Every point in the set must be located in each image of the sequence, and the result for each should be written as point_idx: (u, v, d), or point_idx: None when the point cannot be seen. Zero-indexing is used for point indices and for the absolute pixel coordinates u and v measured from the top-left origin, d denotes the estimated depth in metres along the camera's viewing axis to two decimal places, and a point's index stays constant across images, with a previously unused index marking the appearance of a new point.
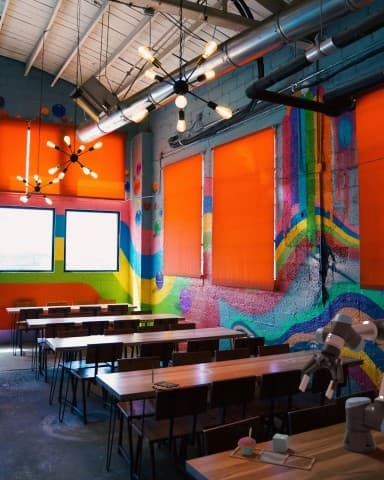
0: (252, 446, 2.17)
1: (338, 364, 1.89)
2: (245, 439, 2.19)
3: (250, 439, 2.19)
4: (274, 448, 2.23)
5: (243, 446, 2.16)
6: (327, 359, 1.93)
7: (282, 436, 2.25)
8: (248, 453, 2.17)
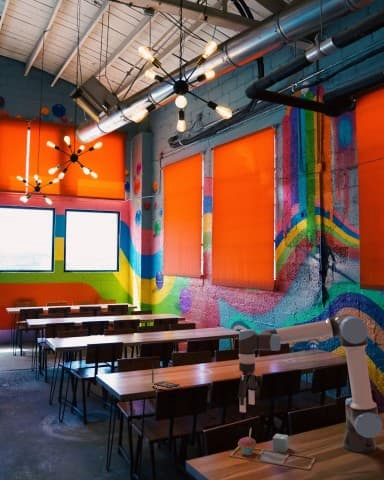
0: (252, 446, 2.17)
1: None
2: (245, 439, 2.19)
3: (250, 439, 2.19)
4: (274, 448, 2.23)
5: (243, 446, 2.16)
6: None
7: (282, 436, 2.25)
8: (248, 453, 2.17)
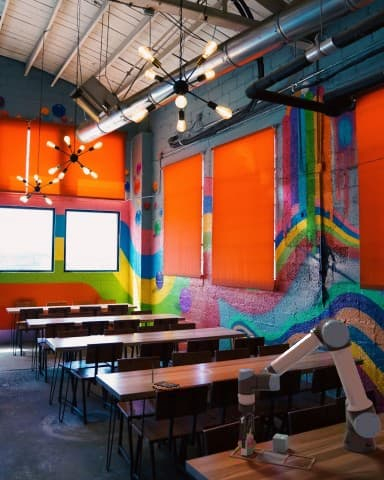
0: (252, 446, 2.17)
1: None
2: None
3: (250, 439, 2.19)
4: (274, 448, 2.23)
5: None
6: None
7: (282, 436, 2.25)
8: (248, 453, 2.17)
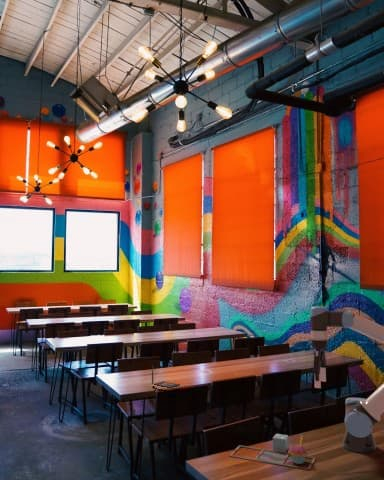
0: (304, 455, 2.06)
1: (314, 357, 2.16)
2: (296, 447, 2.09)
3: (301, 447, 2.09)
4: (274, 448, 2.23)
5: (294, 455, 2.06)
6: None
7: (282, 436, 2.25)
8: (299, 462, 2.07)
